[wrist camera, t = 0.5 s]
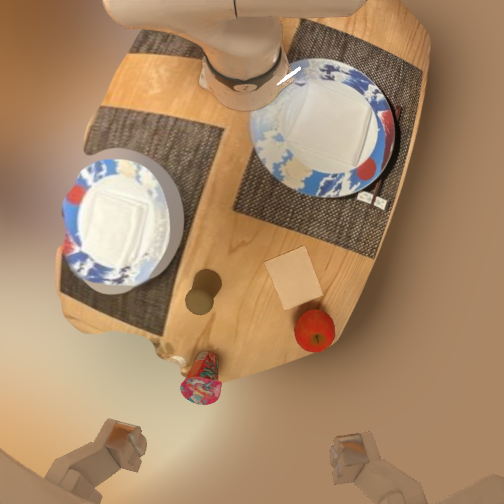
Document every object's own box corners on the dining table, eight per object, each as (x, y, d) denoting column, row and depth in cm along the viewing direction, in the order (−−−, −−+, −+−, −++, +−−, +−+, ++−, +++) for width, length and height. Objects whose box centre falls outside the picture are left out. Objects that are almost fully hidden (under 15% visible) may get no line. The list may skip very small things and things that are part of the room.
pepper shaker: (226, 277, 58) (220, 299, 47) (214, 300, 59) (206, 325, 48) (200, 264, 57) (188, 283, 46) (189, 288, 58) (176, 310, 48)
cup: (216, 377, 65) (209, 409, 53) (185, 363, 64) (174, 394, 52) (232, 352, 62) (228, 385, 51) (200, 337, 61) (190, 368, 50)
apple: (298, 295, 58) (306, 319, 48) (333, 303, 59) (347, 327, 48) (286, 328, 61) (291, 356, 50) (319, 335, 61) (330, 362, 51)
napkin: (263, 261, 57) (264, 262, 56) (304, 245, 56) (304, 245, 55) (284, 309, 59) (285, 310, 59) (322, 294, 58) (323, 295, 58)
